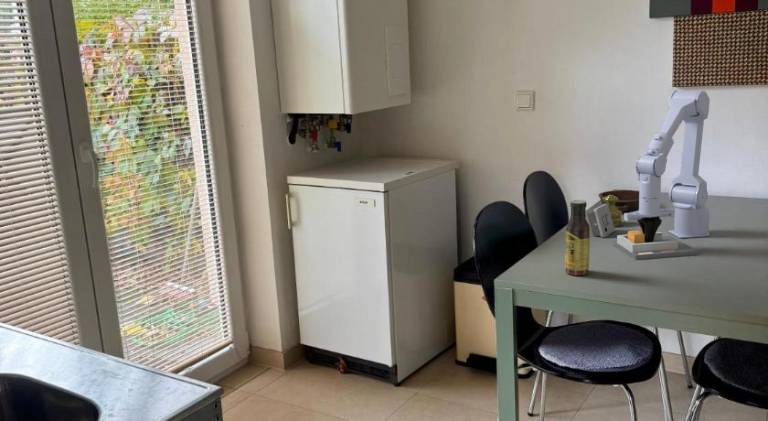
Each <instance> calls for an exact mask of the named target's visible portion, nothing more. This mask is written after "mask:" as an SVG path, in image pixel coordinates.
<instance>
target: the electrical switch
mask: <svg viewBox="0 0 768 421" xmlns="http://www.w3.org/2000/svg"><path fill="white" fill-rule="evenodd" d="M586 217H587V218H588V224H589V227H590V230H591V233H592V237H599V236H600V238H601V239H603V238H605V237H606V238H607V237H608V236H609V235H611V234H612V233H614V232H615V227H614V225H613V221H612V218H611V214H610V211H609V207H608V204H603V205H599V206H598V207H595V208H594V209H592V210H590V211H588V212H586Z"/></svg>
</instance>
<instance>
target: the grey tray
mask: <svg viewBox="0 0 768 421" xmlns="http://www.w3.org/2000/svg"><path fill="white" fill-rule="evenodd" d="M612 246H614V247H616V248H617V249H619V250H620V251H622V252H623V253H625V254H626V255H628V256H629V257H630V258H632V259H633V260H635V261H636V260H637V261H638V260H649V259H650V258H651V259H661V257H663V258H673V257H686V256H697V255H698V254H699V253H698V252H699V251H698V249H696V248H694V247H692V246H690V245H688V244H687V243H685V242H683V241H681V240H679V239H678V238H675V237H673V236H672V235H666V236H664V235H663V232H662V231H656V234H655V236H654V240H653V242H650V243H646V242H645V240H644V243H638V244H635V243H633V242H631V241H630V240H628V233H627V234H617V238H616V239H615V240H612Z"/></svg>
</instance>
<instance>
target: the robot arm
mask: <svg viewBox="0 0 768 421" xmlns="http://www.w3.org/2000/svg"><path fill="white" fill-rule="evenodd" d="M710 102H711V101H710V97H709V95H708V93H707V92H706V91H705V90H701V91H696V90H694V91H692V90H688V91H687V90H683V91H682V90H673V91H671V93H670V94H669V96H668V100H667V109H668V111H667V114H666V116H665V120H664V123H663V124H662V127H661V129H660V131H659V132H658V133H656V134H654V136H653V137H652V139H651V141H650V142H649V145H648V146H647V149H646V151H645V153H644V154H642V155H641V156H639V157H638V158H637V159H636V162H635V166H634V167H635V172H636V173H637V174H636V175H637V180H638V181H639V190H638V191H639V210H635V211H629V212H625V213H624V212H623V213H624V214H623V215H624V216H623V220H624V221H626V222H631V221H637V223H638V225H639V227H640V229H641V232H642V233H644V234H645V236H644V240H645V242H646V243H650V242H653V240H654V236H655V234H656V232H658V230H659V227H660V226H661V224H662V222H663V220H662V219H661V218H669V217H671V218H673V217H674V221H673V222H674V224H673V229H669V230H668V233H670V234H672V235H673V236H675V237H677V238H679V239H687V238H688V239H689V238H699V237H700V238H701V237H710V236H711V234H710V233H709V232H710V210H709V209H708V207H707V206H706V203H707V202H708V196H709V195H708V194H709V193H708V183H707V181H706V180H705V179H704V178H702V177H701V176H700V175H699V172H700V163H701V153H702V141H703V134H704V133H703V132H704V124H705V120H707V119H708V118H709V114H710V113H709V112H710ZM682 122H684V131H683V132H684V133H683V142H682V152H681V162H680V174H679V175H677V176H675V177H674V178H673V179H672V180H671V185H670V187H669V190H668V199H669V201H670V203H672V206H673V207H674V209H673V208H661V199H662V198H661V196H662V195H661V190H662V187H661V186H662V176H663V175H664V173H665V171H666V170H667V169H666V168H667V162H668V158H667V157H668V155H669V153H670V152H671V149H672V148H673V145H674V144H675V142H674V139H673V137H674V135H675V133H676V132H677V131H678V129H679V127H680V126H681V124H682Z"/></svg>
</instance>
